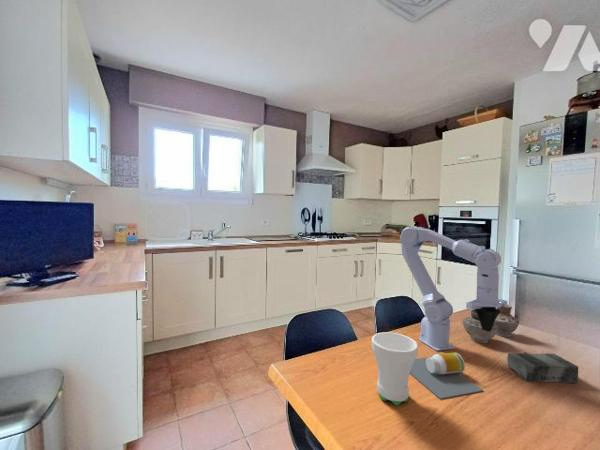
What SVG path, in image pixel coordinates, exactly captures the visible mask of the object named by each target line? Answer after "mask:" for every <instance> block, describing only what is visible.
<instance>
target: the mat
mask: <svg viewBox="0 0 600 450" xmlns="http://www.w3.org/2000/svg"><path fill="white" fill-rule="evenodd" d="M430 357H431V356H428V357H426V356H425V357H420V358H418V357H417V358H416V359H415V360H414V362H413V364H412V367H411V370H410V373H409V375H411V376H412V377H413V379H416V381H417V382H419V383H420V384H421V385H422V386H423V387H424V388H426V389H427V390H428V391H429V392H431V393H432V394H433V395H434V396H435V397H436V398H438V400H443V399H449V398H453V397H460V396H466V395H470V394H478V393H482V392H484V389H482V388H481V387H479V386H478V385H477V384H475V383H474V382H472V381H470V380H469V379H468V378H466V377H465V376H464V375H462V374H461V373H453V374H444V375H440V374H438V373H437V372H436V373H431V372H430V371H429V370H428V369H427V366H426V359H427V358H430Z"/></svg>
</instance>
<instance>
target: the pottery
mask: <svg viewBox="0 0 600 450" xmlns="http://www.w3.org/2000/svg"><path fill="white" fill-rule="evenodd" d="M512 308H513V306H512V305H510V304H509V303H507V307H503V306H501V307H498V308H497V307H496V309H499V310H500V314H499V315H498V316H497V318H496V319H495V321H494V324H493V327H492V330H491V331H489V332H487V331H485V330H483V329H482V327H481V323H480V320H479V317H478V315H477V313H476V311H475V310H470V316H469V317H466V318H463V320H462V326H463V328H464V330H465V332H466V333H467V334H468V336H470V337H469V338H470V340H471V341H473V342H475V343H479V344H488V343H489V340H491V339H493V337H495V336H500V337H503V338H511V337H512V333H514V332H515V331H516V330H517V328H518V327H519V325H520V320H518V319H517V317H515V316H514V315H512V314H511V312H512V310H513V309H512Z"/></svg>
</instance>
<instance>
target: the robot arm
mask: <svg viewBox="0 0 600 450" xmlns="http://www.w3.org/2000/svg"><path fill="white" fill-rule="evenodd" d="M399 240H400V242H401V254H402V256H403V258H404V261H405V263H406V264H407V267H408V268H409V271H410V273H411V274H412V275H411V276H413V278H414V281H415V282H416V284H417V286H418V289H419V291H420V293H421V295H422V297H423V299H422V305H423V307H424V315H425V316H424V317H423V318H422V319H421V321H420V334H419V335H420V336H419V337H418V340H419V342H421V343H424V344H425V345H426V346H428V347H430V348H431V349H433V350H434V351H436V352H438V351H439V352H440V351H446V350H447V351H448V350H454V349H456V347H455V346H453V345H452V344H451V343H450V332H451V331H450V330H451V329H450V328H451V327H450V325H451V320H450V317H451V316H452V315H453V313H454V309H453V306H452V304H451V303H450V302H449V301H448V300H447V299H446V298H445V296H444V295H443V293H441V292H439V291H438V289H437V287H436V285H435V284H434V281H433V279H432V278H431V276H430V273H429V272H428V270H427V268H426V266H425V264H424V262H423V260H422V258H421V257H420V255H419V252H420V249H421V247H422V246H423V245H424V243H426V242H431V243H434V244H436V245H440V246H442V247H443V248H444V247H445V248H447V249H450V250H451V251H452V254H454V256H457V257H459V258H462V259H464V260H466V261H468V262H471V263H473V264H475V265H476V267H477V268H476V269H477V272H476V299H474V300H472V301H467V302H465V304H466V306H465V308H466V309H467V310H469V311H471V310H475V311H476V313H477V315H478V317H479V320H480V323H481V327H482V329H483V330H485V331H487V332H489V331H491V330H492V327H493V324H494V321H495V319H496V318H497V316H498V315H499V314H500V310H499V309H497V308H498V307H501V306H503V307H507V304H508V300H505V299H502V298H500V299H499V285H500V284H499V280H500V279H499V277H500V276H499V275H500V274H499V265H500V264H501V261H502V256H501V255H500V254H499V252H498V251H496V250H494V249H492V248H487V249H486V246H484V245H477V244H474V243H473V242H471V240H469V239H467V238H465V239H459V240H454V239H452V238H450V237H448V236H445V235H443V234H441V233H439V232H436V231H434V230H432V229H430V228H425V227H422V226H417V227H411V226H407V227H404V228H403V229H402V230H401V233H400V236H399Z"/></svg>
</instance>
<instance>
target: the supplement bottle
mask: <svg viewBox="0 0 600 450" xmlns="http://www.w3.org/2000/svg"><path fill="white" fill-rule="evenodd" d="M429 357H430V358H427V359H426V366H427V369H428V370H429V371H430V372H431V373H436V372H437V373H438V374H440V375H444V374H453V373H459V374H461V373H463V372H464V371H465V369H466V364H465V359H464V358H463V357H462V355H461V354H460V353H458V352H455V351H454V352H446V353H437V354H436V353H435V354H433V355H432V356H429Z"/></svg>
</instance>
